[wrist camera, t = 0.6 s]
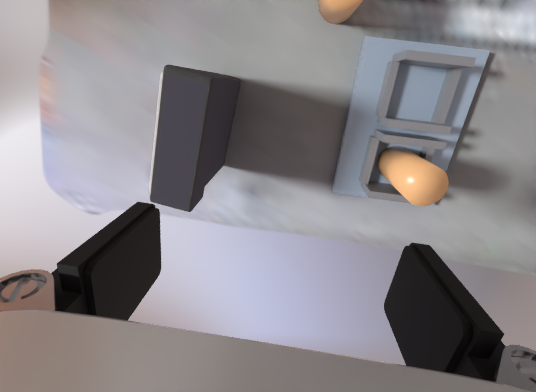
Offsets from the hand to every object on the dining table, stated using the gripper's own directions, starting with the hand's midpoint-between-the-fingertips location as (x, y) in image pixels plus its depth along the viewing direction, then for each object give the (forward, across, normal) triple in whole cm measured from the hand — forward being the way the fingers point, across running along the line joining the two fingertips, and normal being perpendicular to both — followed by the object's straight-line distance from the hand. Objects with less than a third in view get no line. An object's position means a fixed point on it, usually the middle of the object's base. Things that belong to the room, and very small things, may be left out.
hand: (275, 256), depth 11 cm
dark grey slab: (+27, +9, 0) cm, 28 cm away
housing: (+27, -13, -3) cm, 30 cm away
